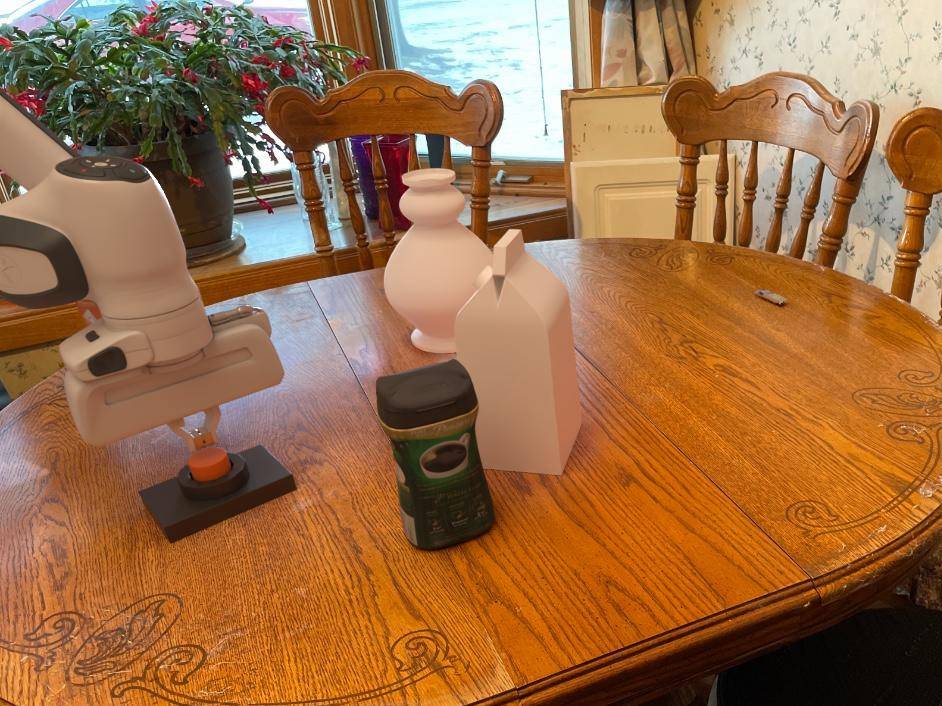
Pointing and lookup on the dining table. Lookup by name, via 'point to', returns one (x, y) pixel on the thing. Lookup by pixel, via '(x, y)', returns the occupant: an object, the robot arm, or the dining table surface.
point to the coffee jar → (436, 453)
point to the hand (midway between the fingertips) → (203, 445)
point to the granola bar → (771, 295)
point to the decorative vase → (434, 260)
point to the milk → (521, 362)
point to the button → (209, 464)
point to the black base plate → (216, 493)
